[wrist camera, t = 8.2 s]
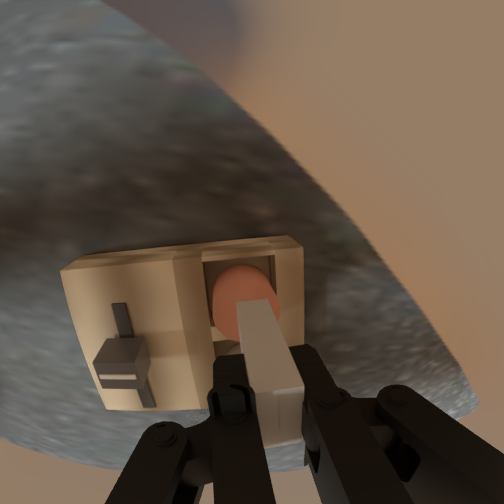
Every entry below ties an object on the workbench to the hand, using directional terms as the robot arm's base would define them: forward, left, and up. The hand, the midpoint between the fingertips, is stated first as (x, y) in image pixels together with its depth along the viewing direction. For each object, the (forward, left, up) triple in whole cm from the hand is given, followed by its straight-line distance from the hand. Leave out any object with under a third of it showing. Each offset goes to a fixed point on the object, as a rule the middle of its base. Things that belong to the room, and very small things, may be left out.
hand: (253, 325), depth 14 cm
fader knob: (-8, -3, -4) cm, 10 cm away
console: (-4, -3, -9) cm, 10 cm away
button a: (0, 0, -5) cm, 5 cm away
